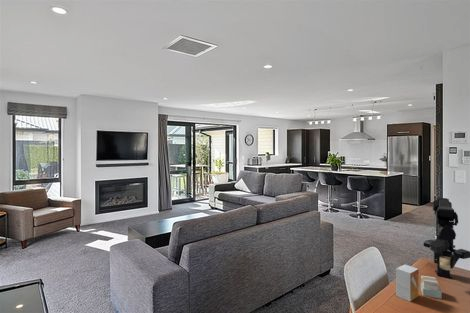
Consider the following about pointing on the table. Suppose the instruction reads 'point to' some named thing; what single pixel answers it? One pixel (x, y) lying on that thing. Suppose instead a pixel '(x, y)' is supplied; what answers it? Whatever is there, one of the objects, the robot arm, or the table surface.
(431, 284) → the cream top block
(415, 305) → the table surface
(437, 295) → the sage base block
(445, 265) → the maple cylinder
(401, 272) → the small box
